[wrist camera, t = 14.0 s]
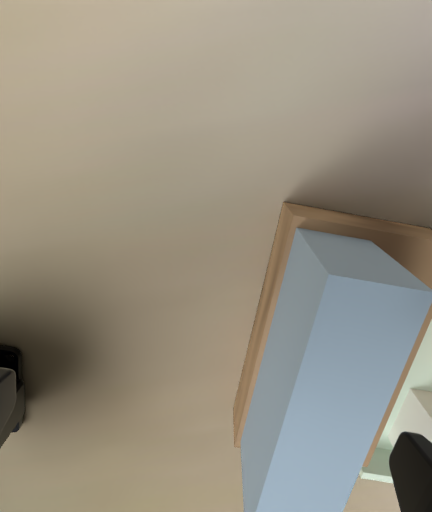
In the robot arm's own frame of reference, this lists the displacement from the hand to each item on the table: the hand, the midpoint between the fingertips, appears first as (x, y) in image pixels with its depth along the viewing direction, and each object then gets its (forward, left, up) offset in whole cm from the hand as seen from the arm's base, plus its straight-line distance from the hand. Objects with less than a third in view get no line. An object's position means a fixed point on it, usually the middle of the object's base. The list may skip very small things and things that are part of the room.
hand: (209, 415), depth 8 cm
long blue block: (+5, -4, -10) cm, 11 cm away
